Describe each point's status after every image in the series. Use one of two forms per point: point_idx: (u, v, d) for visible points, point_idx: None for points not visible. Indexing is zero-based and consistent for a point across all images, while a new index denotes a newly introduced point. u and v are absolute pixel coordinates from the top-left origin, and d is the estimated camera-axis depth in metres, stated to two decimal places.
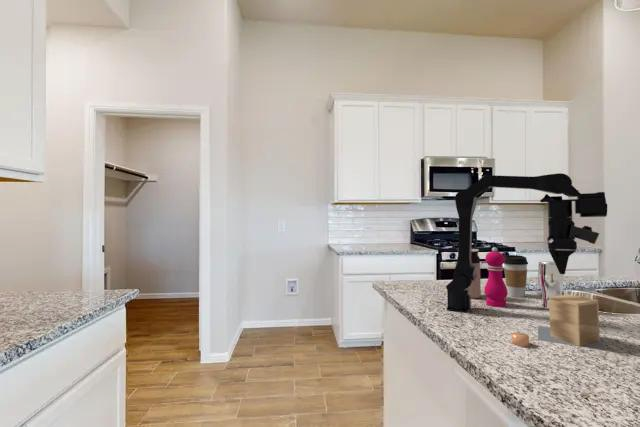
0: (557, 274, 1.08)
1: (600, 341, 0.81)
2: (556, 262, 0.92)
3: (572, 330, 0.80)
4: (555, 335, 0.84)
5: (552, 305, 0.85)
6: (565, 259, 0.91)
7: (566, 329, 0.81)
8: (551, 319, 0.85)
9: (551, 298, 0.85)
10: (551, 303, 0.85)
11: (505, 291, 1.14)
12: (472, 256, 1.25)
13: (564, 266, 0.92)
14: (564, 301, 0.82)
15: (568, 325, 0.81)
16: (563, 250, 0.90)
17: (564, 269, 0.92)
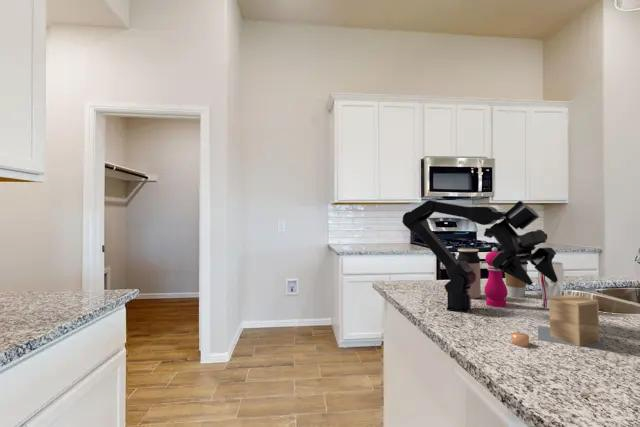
0: (557, 274, 1.08)
1: (600, 341, 0.81)
2: (517, 277, 0.92)
3: (572, 330, 0.80)
4: (555, 335, 0.84)
5: (552, 305, 0.85)
6: (518, 269, 0.91)
7: (566, 329, 0.81)
8: (551, 319, 0.85)
9: (551, 298, 0.85)
10: (551, 303, 0.85)
11: (505, 291, 1.14)
12: (472, 256, 1.25)
13: (524, 276, 0.90)
14: (564, 301, 0.82)
15: (568, 325, 0.81)
16: (506, 263, 0.92)
17: (527, 279, 0.89)
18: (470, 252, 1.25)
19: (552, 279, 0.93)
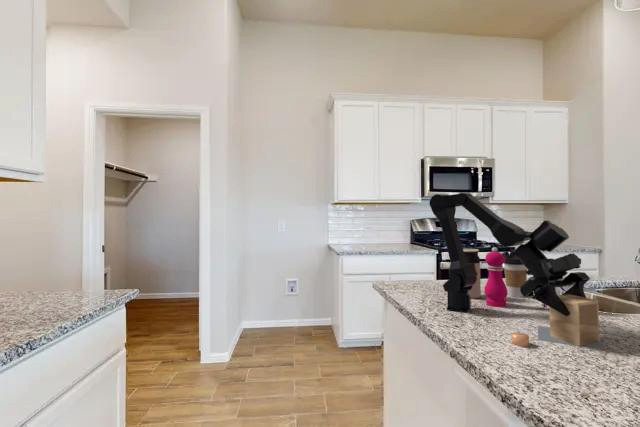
0: None
1: (600, 341, 0.81)
2: (551, 306, 0.83)
3: (572, 330, 0.80)
4: (555, 335, 0.84)
5: None
6: (553, 298, 0.83)
7: (566, 329, 0.81)
8: (551, 319, 0.85)
9: None
10: None
11: (505, 291, 1.14)
12: (472, 256, 1.25)
13: (560, 306, 0.82)
14: (564, 301, 0.82)
15: (568, 325, 0.81)
16: (539, 291, 0.84)
17: (563, 309, 0.81)
18: (470, 252, 1.25)
19: None
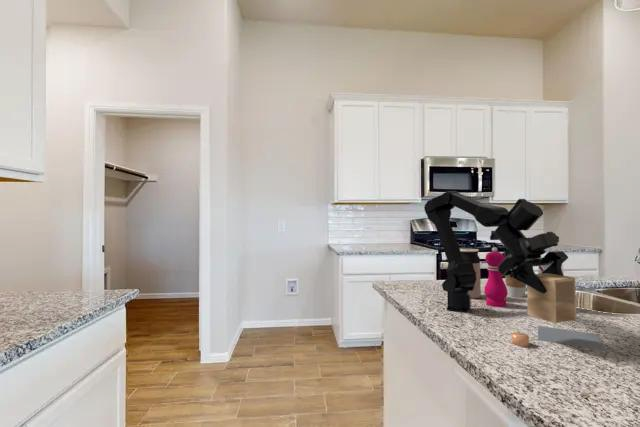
0: None
1: (600, 341, 0.81)
2: (529, 284, 0.82)
3: (549, 307, 0.79)
4: (532, 313, 0.83)
5: None
6: (531, 276, 0.82)
7: (543, 307, 0.81)
8: (529, 297, 0.84)
9: None
10: None
11: (505, 291, 1.14)
12: (472, 256, 1.25)
13: (537, 284, 0.81)
14: (541, 278, 0.81)
15: (545, 302, 0.80)
16: (516, 269, 0.83)
17: (540, 286, 0.80)
18: (470, 252, 1.25)
19: None
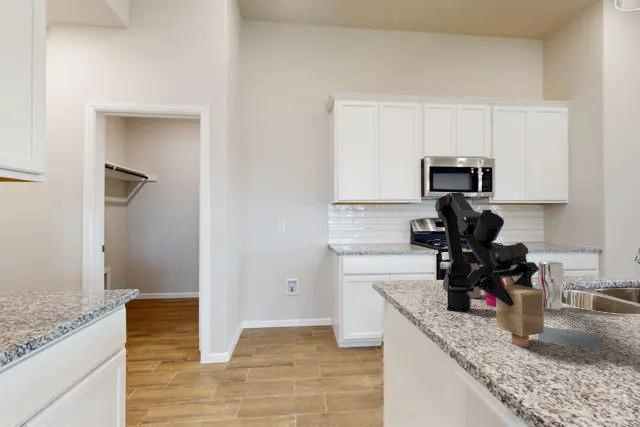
0: (557, 274, 1.08)
1: (600, 341, 0.81)
2: (496, 296, 0.81)
3: (515, 320, 0.78)
4: (501, 326, 0.82)
5: None
6: (498, 288, 0.80)
7: (510, 320, 0.79)
8: (497, 310, 0.83)
9: None
10: None
11: None
12: (472, 256, 1.25)
13: (504, 296, 0.79)
14: (509, 291, 0.80)
15: (512, 315, 0.79)
16: (484, 281, 0.82)
17: (507, 299, 0.79)
18: (470, 252, 1.25)
19: None
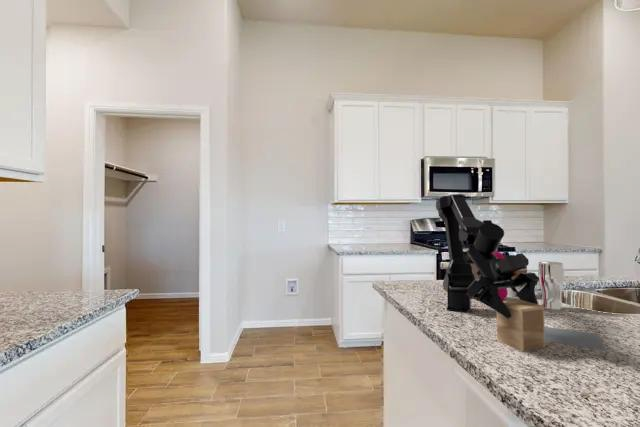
0: (557, 274, 1.08)
1: (600, 341, 0.81)
2: (494, 308, 0.81)
3: (516, 336, 0.78)
4: (502, 341, 0.82)
5: None
6: (496, 300, 0.80)
7: (511, 335, 0.79)
8: (498, 325, 0.83)
9: None
10: None
11: (505, 291, 1.14)
12: None
13: (502, 308, 0.79)
14: (509, 307, 0.79)
15: (513, 331, 0.79)
16: (482, 292, 0.82)
17: (505, 311, 0.79)
18: None
19: None
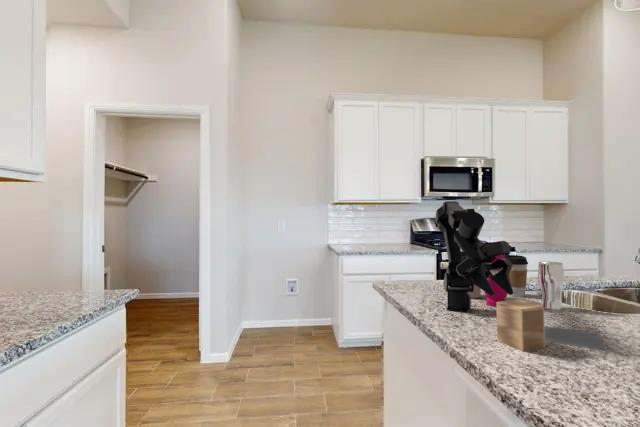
0: (557, 274, 1.08)
1: (600, 341, 0.81)
2: (479, 286, 0.88)
3: (516, 336, 0.78)
4: (502, 341, 0.82)
5: (499, 311, 0.82)
6: (482, 278, 0.87)
7: (511, 335, 0.79)
8: (498, 325, 0.83)
9: (498, 303, 0.83)
10: (498, 308, 0.83)
11: None
12: None
13: (487, 286, 0.87)
14: (509, 307, 0.79)
15: (513, 331, 0.79)
16: (471, 270, 0.88)
17: (489, 289, 0.86)
18: None
19: (508, 291, 0.92)
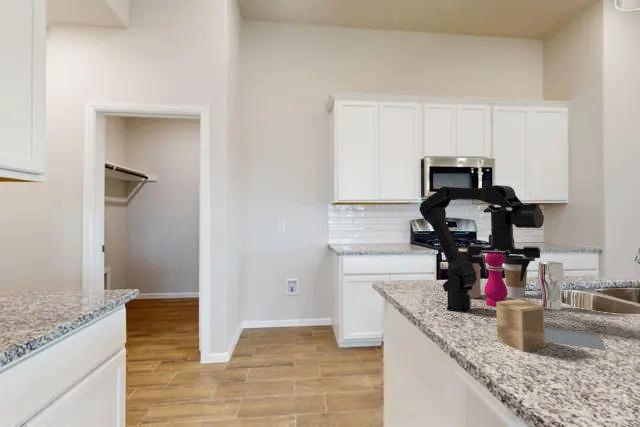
0: (557, 274, 1.08)
1: (600, 341, 0.81)
2: None
3: (516, 336, 0.78)
4: (502, 341, 0.82)
5: (499, 311, 0.82)
6: None
7: (511, 335, 0.79)
8: (498, 325, 0.83)
9: (498, 303, 0.83)
10: (498, 308, 0.83)
11: (505, 291, 1.14)
12: None
13: None
14: (509, 307, 0.79)
15: (513, 331, 0.79)
16: (534, 258, 0.95)
17: None
18: None
19: (486, 275, 1.02)
